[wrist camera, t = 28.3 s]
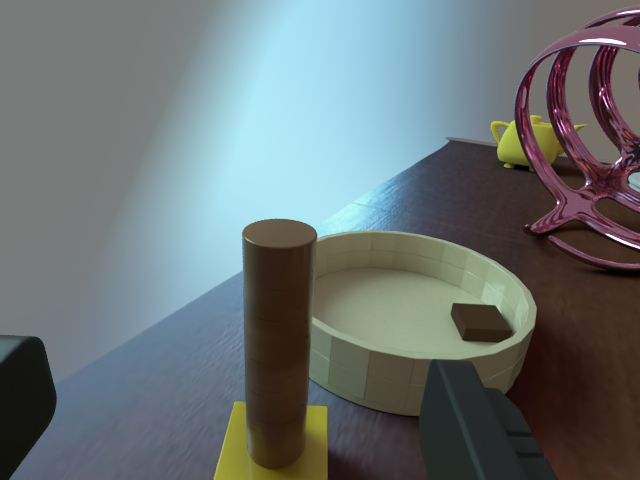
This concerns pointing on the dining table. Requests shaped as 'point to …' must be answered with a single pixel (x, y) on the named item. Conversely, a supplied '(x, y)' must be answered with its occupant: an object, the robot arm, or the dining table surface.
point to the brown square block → (480, 323)
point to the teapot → (512, 148)
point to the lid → (635, 181)
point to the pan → (407, 316)
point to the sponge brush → (277, 361)
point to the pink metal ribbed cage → (600, 179)
